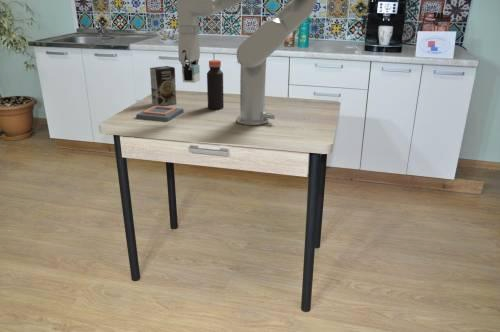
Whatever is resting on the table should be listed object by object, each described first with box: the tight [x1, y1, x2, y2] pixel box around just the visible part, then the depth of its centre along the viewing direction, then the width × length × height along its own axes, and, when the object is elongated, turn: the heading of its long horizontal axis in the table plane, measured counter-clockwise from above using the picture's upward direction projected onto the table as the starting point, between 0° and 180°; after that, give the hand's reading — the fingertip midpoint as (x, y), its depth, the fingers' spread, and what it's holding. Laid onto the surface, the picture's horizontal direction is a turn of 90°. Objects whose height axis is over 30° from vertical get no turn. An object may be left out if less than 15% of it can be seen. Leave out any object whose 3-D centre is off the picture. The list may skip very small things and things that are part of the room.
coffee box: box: [149, 65, 177, 107], centre depth 205 cm, size 9×6×16 cm
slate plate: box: [135, 105, 185, 122], centre depth 191 cm, size 14×14×2 cm
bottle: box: [206, 59, 225, 111], centre depth 199 cm, size 7×7×20 cm
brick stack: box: [181, 63, 201, 84], centre depth 181 cm, size 5×5×6 cm
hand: (191, 78), depth 182 cm, fingers closed on brick stack, 5 cm apart
